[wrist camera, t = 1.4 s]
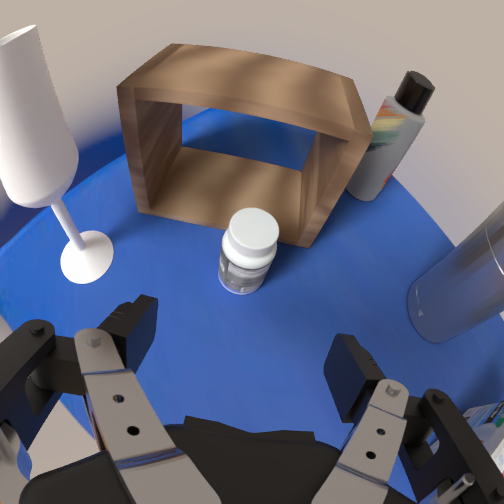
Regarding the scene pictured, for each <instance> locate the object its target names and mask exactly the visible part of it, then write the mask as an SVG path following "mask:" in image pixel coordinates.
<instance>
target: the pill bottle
mask: <svg viewBox="0 0 504 504" xmlns="http://www.w3.org/2000/svg"><path fill="white" fill-rule="evenodd" d="M278 236H279V226H278V224H277V221H276V220H275V219H274V217H273V216H272V215H271V214H269V213H268V212H266V211H264V210H262V209H258V208H244V209H241V210H239V211H238V212H236V213H235V214H234V215H233V217H232V218H231V220H230V224H229V227H228V229H227V230H226V232H225V234H224V236H223V239H222V246H221V254H220V261H219V269H218V275H219V279H220V281H221V283H222V285H223V286H224V287H225V288H226V289H227V290H229V291H231V292H233V293H235V294H241V295H244V294H249V293H252V292H254V291H256V290H257V289H258V288H259V287H260V286H261V284H262V282H263V280H264V279H265V276H266V274H267V272H268V270H269V267H270V265H271V263H272V261H273V259H274V257H275V254H276V251H277V239H278Z"/></svg>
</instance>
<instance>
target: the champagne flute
mask: <svg viewBox="0 0 504 504" xmlns="http://www.w3.org/2000/svg"><path fill="white" fill-rule="evenodd" d="M78 159H79V157H78V149H77V147H76V145H75V142H74V140H73V138H72V135H71V133H70V130H69V128H68V125H67V123H66V120H65V118H64V115H63V112H62V110H61V107H60V104H59V101H58V99H57V96H56V93H55V90H54V87H53V84H52V81H51V78H50V75H49V71H48V68H47V65H46V61H45V57H44V54H43V50H42V46H41V43H40V38H39V34H38V30H37V26H36V25H31V26H28V27H25V28H23V29H20V30H18V31H15V32H13V33H11V34H9V35H7V36H5V37H3V38H2V39H0V178H1V181H2V183H3V186H4V188H5V190H6V192H7V194H8V197H9V198H10V199H11V200H12V201H13V202H14V203H17V204H19V205H22V206H24V207H31V208H39V207H43V206H49V205H51V207H52V209H53V211H54V212H55V214H56V216H57V218H58V220H59V221H60V223H61V225H62V227H63V228H64V230H65V232H66V234H67V235H68V237H69V239H70V241H69V243H68V244H67V245H66V247H65V248H64V250H63V253H62V257H61V268H62V271H63V273H64V275H65V276H66V277H67V278H68V279H69V280H70V281H72V282H75V283H79V284H85V283H90V282H92V281H95V280H97V279H98V278H100V277H101V276H102V275H103V274H104V273H105V272H106V271H107V270H108V268H109V266H110V265H111V262H112V259H113V254H114V251H113V245H112V242H111V240H110V239H109V238H108V237H107V236H106V235H105V234H103V233H101V232H99V231H86V232H83V233H80V234H79V232H78V230H77V228H76V226H75V224H74V222H73V220H72V218H71V217H70V215H69V213H68V211H67V209H66V207H65V204H64V202H63V200H62V198H61V197H62V196H63V195H64V193H65V192H66V191H67V189H68V188H69V186H70V185H71V183H72V181H73V178H74V176H75V173H76V170H77V166H78Z"/></svg>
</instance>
